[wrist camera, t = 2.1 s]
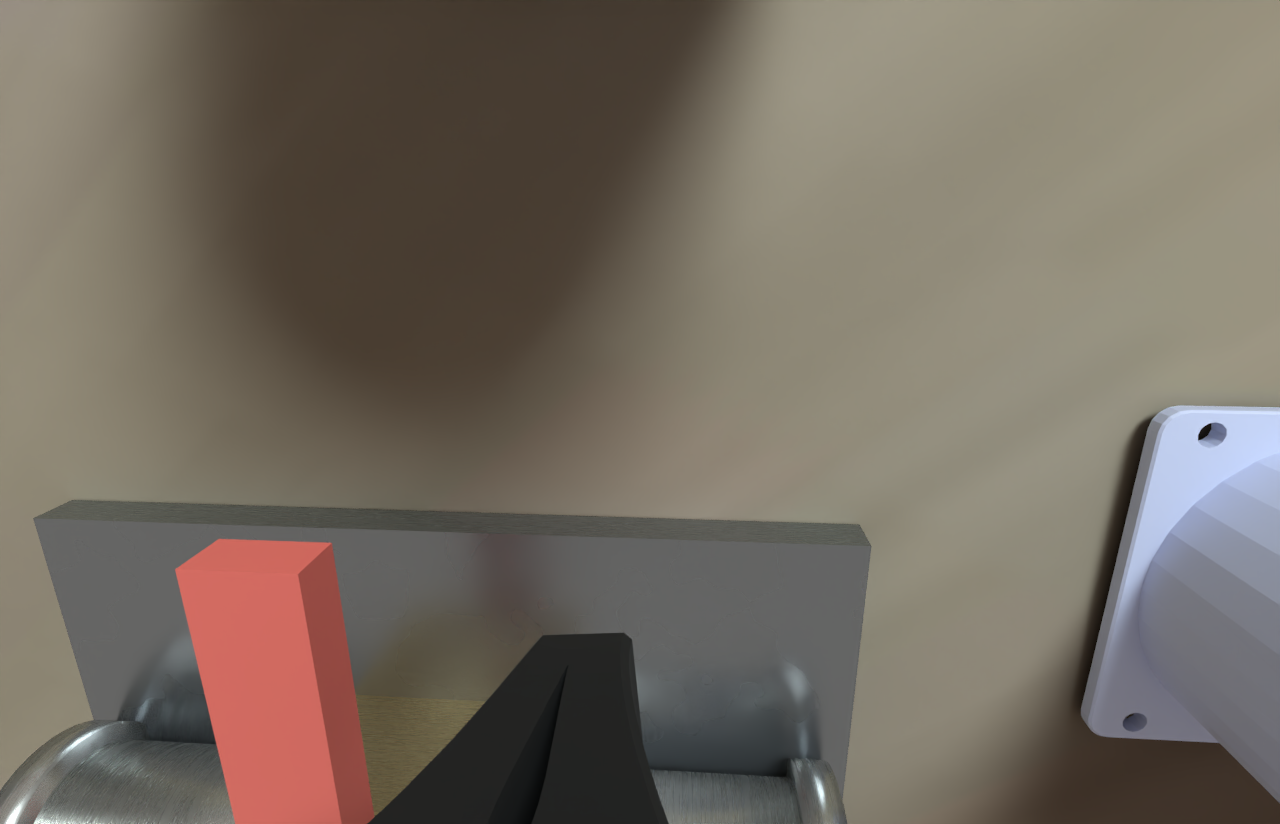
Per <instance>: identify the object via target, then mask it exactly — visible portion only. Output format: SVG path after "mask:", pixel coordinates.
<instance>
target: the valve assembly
mask: <svg viewBox="0 0 1280 824" xmlns="http://www.w3.org/2000/svg"><path fill="white" fill-rule="evenodd" d="M33 519H34V522H35V526H36V529H37V532H38V536H39V539H40V542H41V546H42V549H43V552H44V556H45V559H46V562H47V566H48V569H49V572H50V576H51V579H52V582H53V585H54V589H55V592H56V595H57V599H58V602H59V605H60V609H61V612H62V615H63V619H64V622H65V625H66V629H67V632H68V635H69V639H70V642H71V645H72V649H73V652H74V655H75V659H76V662H77V665H78V669H79V672H80V675H81V679H82V682H83V685H84V688H85V692H86V695H87V698H88V702H89V705H90V708H91V712H92V715H93V718H94V720H93V721H88V722H84V723H81V724H78V725H75V726H73V727H71V728H69V729H67V730H65V731H63V732H61V733H60V734H58V735H56V736H55V737H53V738H52V739H50V740H49V741H48V742H46V743H45V744H44V745H42V746H41V747H40V748H39V749H37V750H36V751H35V752H34V753H33V754H32V755H31V756H30V757H29V758H27V759H26V761H25V762H24V763H23V764H22V765H21V766H20V767H19V768H18V769H17V770H16V771H15V772H14V774H13V775H12V776H11V777H10V778H9V780H8V781H7V782H6V783H5V785H4V786H3V787H2V789H1V790H0V824H235V820H234V816H233V812H232V808H231V803H230V799H229V795H228V791H227V787H226V782H225V778H224V774H223V770H222V765H221V761H220V757H219V753H218V749H217V744H216V740H215V736H214V732H213V727H212V723H211V719H210V715H209V711H208V706H207V702H206V698H205V694H204V690H203V685H202V681H201V677H200V673H199V668H198V664H197V660H196V656H195V652H194V647H193V643H192V639H191V635H190V630H189V626H188V622H187V618H186V614H185V609H184V605H183V601H182V597H181V592H180V588H179V584H178V580H177V576H176V571H175V569H176V568H178V567H179V566H181V565H182V564H183V563H185V562H186V561H188V560H189V559H191V558H192V557H194V556H195V555H196V554H198V553H199V552H201V551H202V550H204V549H205V548H206V547H208V546H209V545H211V544H212V543H214V542H215V541H217V540H218V539H238V540H267V541H295V542H324V543H332V547H333V554H334V560H335V567H336V573H337V579H338V586H339V592H340V599H341V605H342V612H343V618H344V624H345V631H346V637H347V644H348V650H349V656H350V663H351V669H352V676H353V682H354V689H355V695H356V701H357V708H358V714H359V721H360V727H361V734H362V740H363V746H364V753H365V759H366V766H367V772H368V779H369V785H370V791H371V798H372V804H373V811H374V817H375V816H376V815H377V814H378V813H379V812H381V811H382V810H383V809H384V808H385V807H386V806H387V805H388V804H389V803H390V802H391V801H392V800H393V799H394V798H395V797H396V796H397V795H398V794H399V793H400V792H401V791H402V790H403V789H404V788H405V787H406V786H407V785H408V784H409V783H410V782H411V781H412V780H413V779H414V778H415V777H416V776H417V775H418V774H419V773H420V772H421V771H422V770H423V769H424V768H425V767H426V766H427V765H428V764H429V763H430V762H431V761H432V760H433V759H434V758H435V757H436V756H437V755H438V754H439V753H440V752H441V751H442V749H443V748H444V747H445V746H446V745H447V744H448V743H449V742H450V741H451V740H452V739H453V738H454V737H455V736H456V734H457V733H458V732H459V731H460V730H461V729H462V728H463V727H464V725H465V724H466V723H467V722H468V721H469V720H470V719H471V718H472V716H473V715H474V714H475V713H476V712H477V711H478V710H479V709H480V708H481V706H482V705H483V704H484V703H485V702H486V701H487V700H488V698H489V697H490V696H491V695H492V694H493V693H494V691H495V690H496V689H497V688H498V687H499V686H500V684H501V683H502V682H503V681H504V680H505V679H506V677H507V676H508V675H509V674H510V673H511V671H512V670H513V669H514V668H515V667H516V665H517V664H518V663H519V662H520V661H521V659H522V658H523V657H524V656H525V655H526V653H527V652H528V651H529V650H530V649H531V648H532V646H533V645H534V644H535V643H536V642H537V641H538V640H539V639H540V638H541V637H542V636H543V635H563V634H594V633H625V634H626V635H627V636H629V637H630V638H631V639H632V644H633V653H634V662H635V672H636V681H637V690H638V700H639V709H640V718H641V728H642V737H643V746H644V749H645V753H646V756H647V760H648V763H649V767H650V770H651V773H652V776H653V779H654V782H655V785H656V789H657V792H658V795H659V798H660V801H661V803H662V806H663V809H664V812H665V815H666V817H667V820H668V823H669V824H847V820H846V815H845V810H844V806H843V801H842V798H843V790H844V781H845V772H846V763H847V755H848V746H849V737H850V728H851V719H852V711H853V702H854V693H855V684H856V675H857V667H858V658H859V649H860V640H861V632H862V623H863V614H864V605H865V596H866V588H867V579H868V570H869V561H870V553H871V545H870V543H869V541H868V539H867V538H866V536H865V534H864V532H863V530H862V528H861V527H860V525H853V524H821V523H789V522H757V521H724V520H692V519H660V518H628V517H596V516H564V515H532V514H500V513H467V512H435V511H403V510H371V509H339V508H307V507H275V506H243V505H211V504H178V503H146V502H114V501H82V500H72V501H69V502H67V503H65V504H63V505H61V506H59V507H57V508H54V509H52V510H50V511H48V512H46V513H44V514H42V515H39V516H37V517H35V518H33Z"/></svg>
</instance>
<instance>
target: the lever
mask: <svg viewBox="0 0 1280 824" xmlns="http://www.w3.org/2000/svg"><path fill="white" fill-rule="evenodd" d="M175 571H176V576H177V580H178V584H179V588H180V592H181V597H182V601H183V605H184V609H185V614H186V618H187V622H188V626H189V630H190V635H191V639H192V643H193V647H194V652H195V656H196V660H197V664H198V668H199V673H200V677H201V681H202V685H203V690H204V694H205V698H206V702H207V706H208V711H209V715H210V719H211V723H212V727H213V732H214V736H215V740H216V744H217V749H218V753H219V757H220V761H221V765H222V770H223V774H224V778H225V782H226V787H227V791H228V795H229V799H230V803H231V808H232V812H233V816H234V820H235V824H367V823H369V822H370V821H371V820H372V819H373V818H374V811H373V804H372V798H371V791H370V785H369V779H368V772H367V766H366V759H365V753H364V746H363V740H362V734H361V727H360V721H359V714H358V708H357V701H356V695H355V689H354V682H353V676H352V669H351V663H350V656H349V650H348V644H347V637H346V631H345V624H344V618H343V612H342V605H341V599H340V592H339V586H338V579H337V573H336V567H335V560H334V554H333V547H332V543H324V542H295V541H267V540H238V539H218V540H217V541H215V542H214V543H212V544H211V545H209V546H208V547H206V548H205V549H204V550H202V551H201V552H199V553H198V554H196V555H195V556H194V557H192V558H191V559H189V560H188V561H186V562H185V563H183V564H182V565H181V566H179V567H178V568H176V569H175Z"/></svg>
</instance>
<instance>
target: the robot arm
mask: <svg viewBox="0 0 1280 824" xmlns="http://www.w3.org/2000/svg"><path fill="white" fill-rule="evenodd" d="M1210 423H1211V431H1210V432H1209V434H1208V435H1207V436H1206V437H1205V438H1203V439H1202V440H1198V434H1199V432H1200V430H1201V429H1202V428H1203V427H1204V426H1206V425H1207V424H1210ZM1133 713H1134V714H1133ZM1130 714H1133V715H1132V716H1131V717H1129V718H1126V719H1125V717H1126V716H1128V715H1130ZM1081 717H1082V718H1083V720H1084V722H1085V723H1086V724H1087V726H1088V727H1089V728H1090V729H1091V731H1092V732H1094V733H1095V734H1097V735H1099V736H1104V737H1114V738H1133V739H1152V740H1171V741H1191V742H1210V743H1220V744H1221V745H1222V746H1223V747H1224V748H1225V749H1226V750H1227V751H1228V752H1229V753H1230V754H1231V755H1232V756H1233V757H1234V758H1235V759H1236V760H1237V761H1238V762H1239V763H1240V764H1241V765H1242V766H1243V767H1244V768H1245V769H1246V770H1247V771H1248V772H1249V773H1250V774H1251V775H1252V776H1253V777H1254V778H1255V779H1256V780H1257V781H1258V782H1259V783H1260V784H1261V785H1262V786H1263V787H1264V788H1265V789H1266V790H1267V791H1268V792H1269V793H1270V794H1271V795H1272V796H1273V797H1274V798H1275V799H1276V800H1277V801H1278V802H1279V803H1280V407H1230V406H1173V407H1168V408H1166V409H1164V410H1162V411H1161V412H1159V413H1158V414H1157V415H1156V416H1155V417H1154V418H1153V419H1152V420H1151V423H1150V425H1149V427H1148V430H1147V434H1146V438H1145V442H1144V446H1143V451H1142V455H1141V459H1140V463H1139V467H1138V472H1137V476H1136V480H1135V484H1134V488H1133V493H1132V497H1131V501H1130V505H1129V509H1128V514H1127V518H1126V522H1125V526H1124V530H1123V535H1122V539H1121V543H1120V547H1119V551H1118V556H1117V560H1116V564H1115V568H1114V572H1113V577H1112V581H1111V585H1110V589H1109V593H1108V598H1107V602H1106V606H1105V610H1104V614H1103V619H1102V623H1101V627H1100V631H1099V635H1098V640H1097V644H1096V648H1095V652H1094V656H1093V661H1092V665H1091V669H1090V673H1089V677H1088V682H1087V686H1086V690H1085V694H1084V698H1083V703H1082V707H1081ZM367 824H669V823H668V820H667V817H666V815H665V812H664V809H663V806H662V803H661V801H660V798H659V795H658V792H657V789H656V785H655V782H654V779H653V776H652V773H651V770H650V767H649V763H648V760H647V756H646V753H645V749H644V746H643V737H642V728H641V718H640V709H639V700H638V690H637V681H636V672H635V662H634V653H633V644H632V639H631V638H630V637H629V636H627V635H626V634H625V633H594V634H563V635H543V636H542V637H541V638H540V639H539V640H538V641H537V642H536V643H535V644H534V645H533V646H532V648H531V649H530V650H529V651H528V652H527V653H526V655H525V656H524V657H523V658H522V659H521V661H520V662H519V663H518V664H517V665H516V667H515V668H514V669H513V670H512V671H511V673H510V674H509V675H508V676H507V677H506V679H505V680H504V681H503V682H502V683H501V684H500V686H499V687H498V688H497V689H496V690H495V691H494V693H493V694H492V695H491V696H490V697H489V698H488V700H487V701H486V702H485V703H484V704H483V705H482V706H481V708H480V709H479V710H478V711H477V712H476V713H475V714H474V715H473V716H472V718H471V719H470V720H469V721H468V722H467V723H466V724H465V725H464V727H463V728H462V729H461V730H460V731H459V732H458V733H457V734H456V736H455V737H454V738H453V739H452V740H451V741H450V742H449V743H448V744H447V745H446V746H445V747H444V748H443V749H442V751H441V752H440V753H439V754H438V755H437V756H436V757H435V758H434V759H433V760H432V761H431V762H430V763H429V764H428V765H427V766H426V767H425V768H424V769H423V770H422V771H421V772H420V773H419V774H418V775H417V776H416V777H415V778H414V779H413V780H412V781H411V782H410V783H409V784H408V785H407V786H406V787H405V788H404V789H403V790H402V791H401V792H400V793H399V794H398V795H397V796H396V797H395V798H394V799H393V800H392V801H391V802H390V803H389V804H388V805H387V806H386V807H385V808H384V809H383V810H382V811H381V812H379V813H378V814H377V815H376V816H375V817H374V818H373V819H372V820H371V821H370V822H369V823H367Z"/></svg>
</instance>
